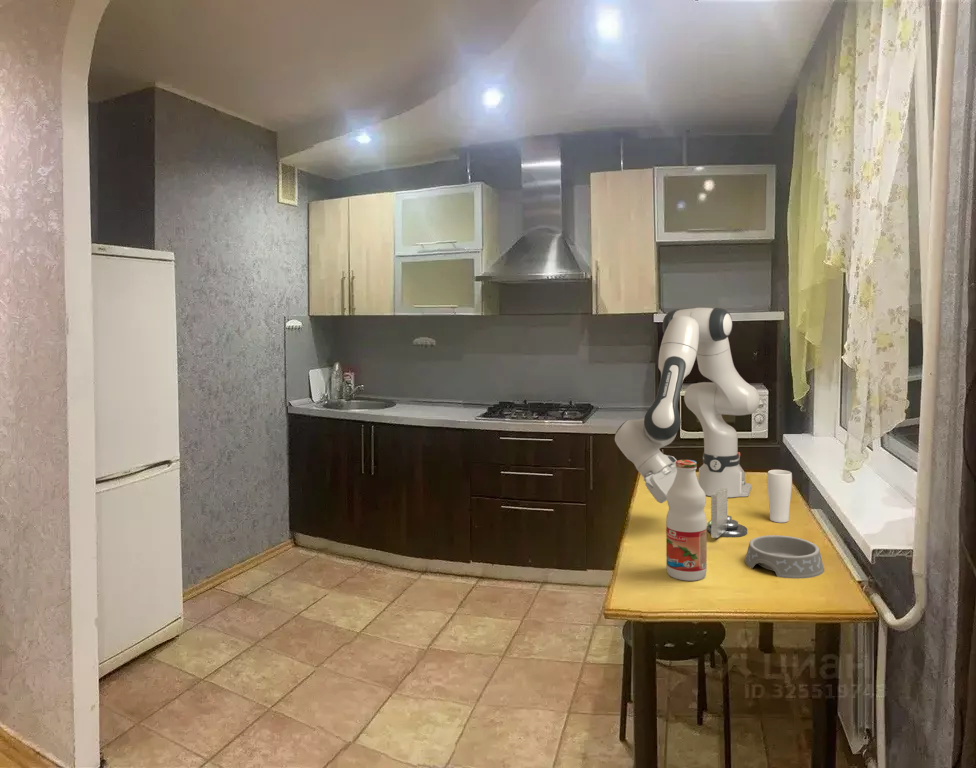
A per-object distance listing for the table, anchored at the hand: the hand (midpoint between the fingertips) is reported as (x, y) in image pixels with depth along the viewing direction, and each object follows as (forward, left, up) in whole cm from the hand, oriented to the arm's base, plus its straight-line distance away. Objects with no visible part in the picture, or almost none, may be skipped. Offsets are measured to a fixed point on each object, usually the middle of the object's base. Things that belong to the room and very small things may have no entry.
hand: (688, 505), depth 193 cm
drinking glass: (-26, +18, -9) cm, 33 cm away
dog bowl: (+11, +28, -9) cm, 31 cm away
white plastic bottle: (+30, +10, -9) cm, 32 cm away
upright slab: (-4, +8, -7) cm, 12 cm away
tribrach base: (-8, +8, -8) cm, 15 cm away
